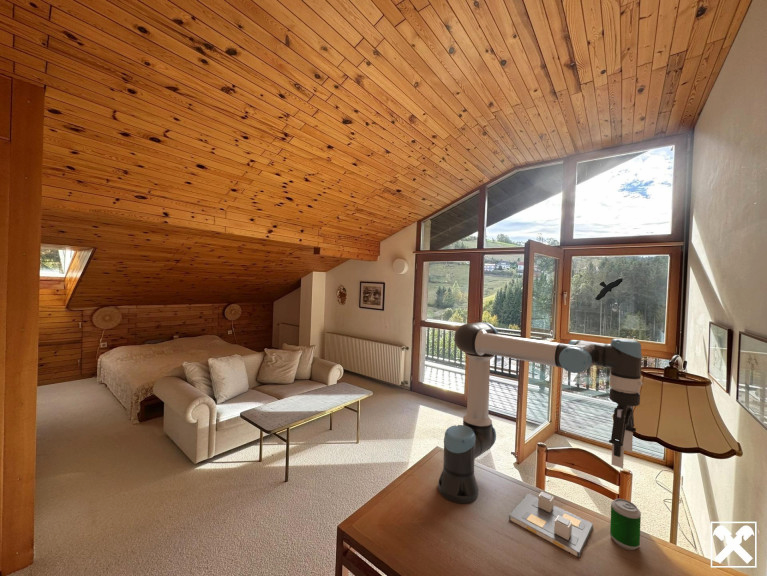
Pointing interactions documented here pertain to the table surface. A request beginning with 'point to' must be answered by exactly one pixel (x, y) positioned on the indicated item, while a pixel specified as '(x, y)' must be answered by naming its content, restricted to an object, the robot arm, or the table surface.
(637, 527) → the soda can
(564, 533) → the slider near
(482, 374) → the robot arm
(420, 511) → the table surface
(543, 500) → the slider far
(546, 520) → the switch board
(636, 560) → the table surface
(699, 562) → the table surface
